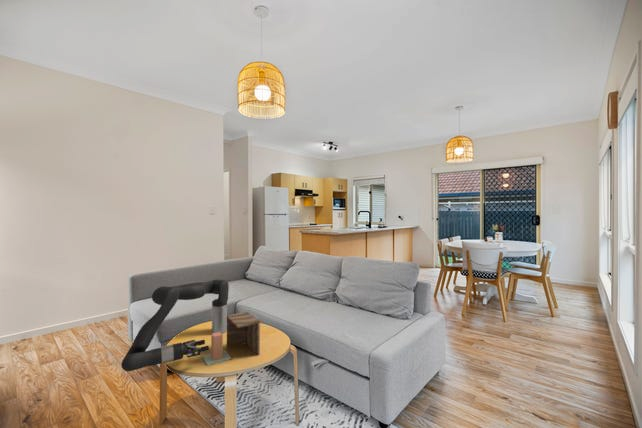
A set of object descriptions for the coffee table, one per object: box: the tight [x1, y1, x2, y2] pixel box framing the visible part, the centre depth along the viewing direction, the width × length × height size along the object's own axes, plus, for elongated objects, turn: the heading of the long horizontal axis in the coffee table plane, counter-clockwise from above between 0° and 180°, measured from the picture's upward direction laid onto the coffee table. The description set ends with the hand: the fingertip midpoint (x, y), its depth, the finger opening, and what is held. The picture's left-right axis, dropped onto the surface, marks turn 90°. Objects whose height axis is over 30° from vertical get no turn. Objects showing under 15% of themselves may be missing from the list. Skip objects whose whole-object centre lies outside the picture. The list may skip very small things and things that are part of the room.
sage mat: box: [201, 349, 232, 366], centre depth 153 cm, size 11×12×1 cm
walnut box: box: [226, 311, 261, 356], centre depth 161 cm, size 19×12×18 cm, turn 34°
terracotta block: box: [210, 332, 224, 360], centre depth 153 cm, size 4×4×12 cm
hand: (206, 344), depth 149 cm, fingers open, 8 cm apart
